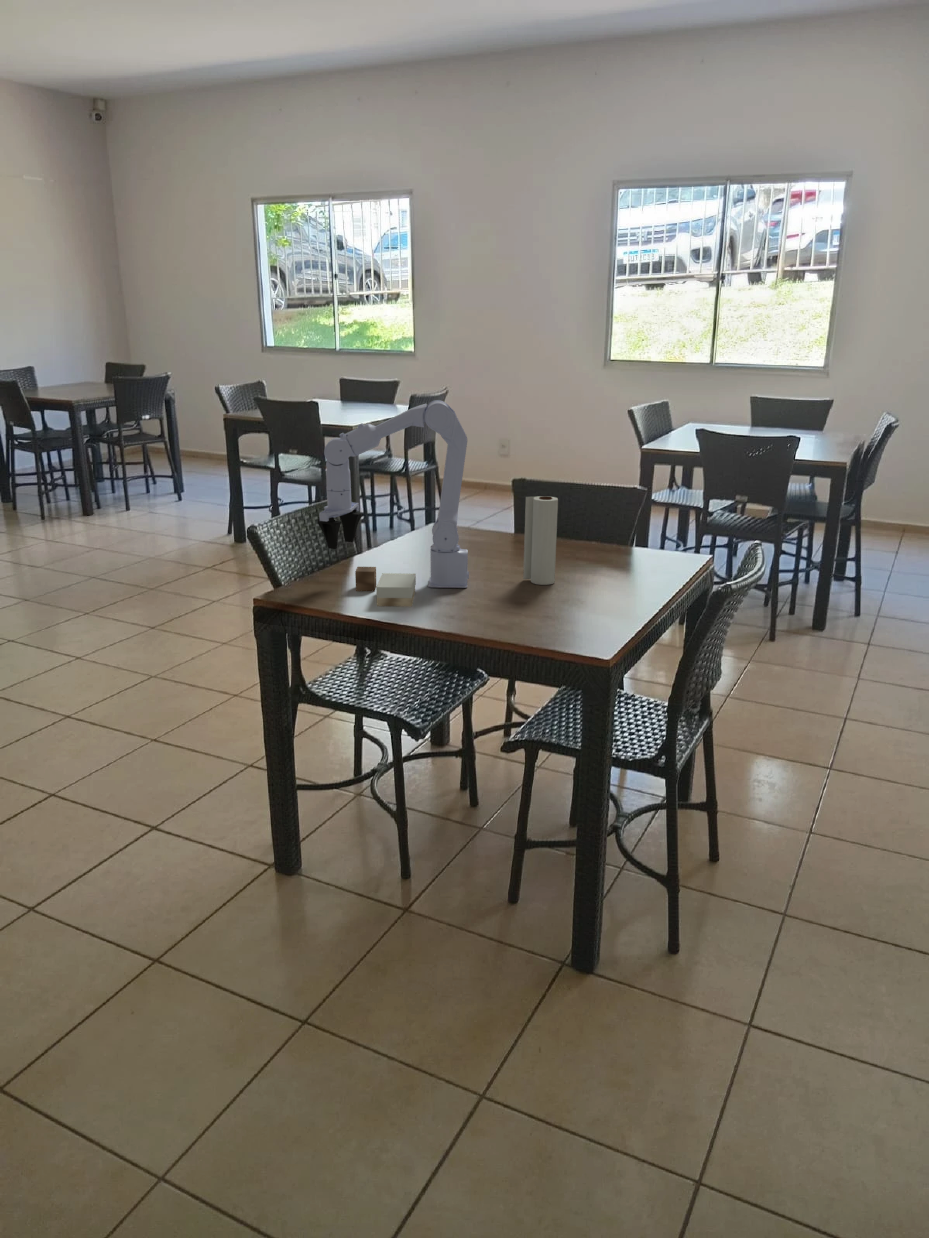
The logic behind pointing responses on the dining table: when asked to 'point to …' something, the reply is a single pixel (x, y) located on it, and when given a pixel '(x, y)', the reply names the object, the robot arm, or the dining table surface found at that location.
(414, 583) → the slab top
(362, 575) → the walnut block
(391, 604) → the slab bottom
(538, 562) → the paper towel roll
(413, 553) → the dining table surface
